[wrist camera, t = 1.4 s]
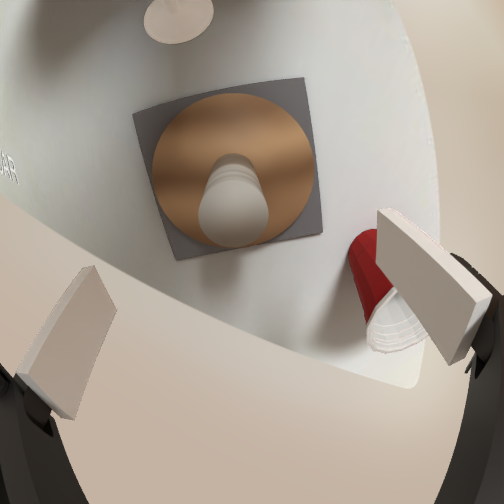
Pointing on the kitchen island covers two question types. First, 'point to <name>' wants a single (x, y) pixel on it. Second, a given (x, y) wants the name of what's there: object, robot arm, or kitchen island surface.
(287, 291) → the kitchen island surface
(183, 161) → the lid
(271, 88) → the mat
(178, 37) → the champagne flute
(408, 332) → the plastic cup
